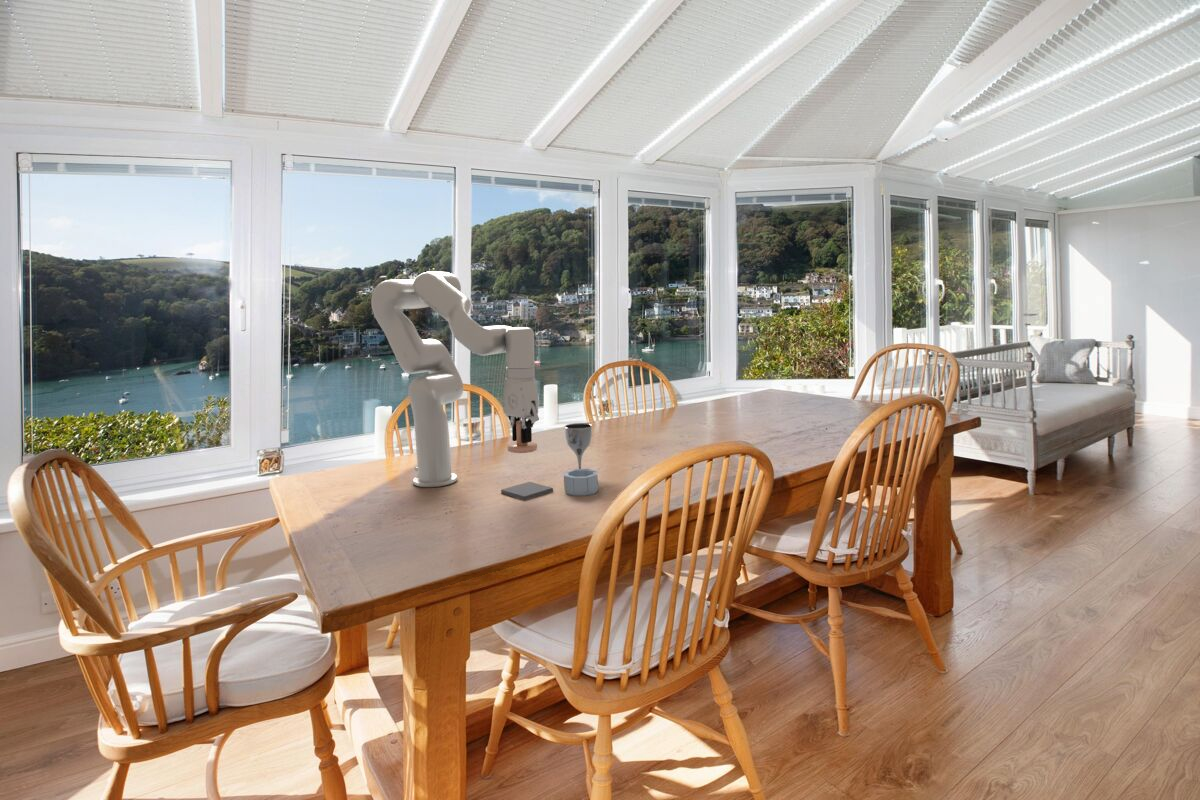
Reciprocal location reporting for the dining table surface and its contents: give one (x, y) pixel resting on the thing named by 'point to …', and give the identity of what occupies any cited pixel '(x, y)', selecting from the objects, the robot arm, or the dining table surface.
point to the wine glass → (578, 438)
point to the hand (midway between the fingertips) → (522, 440)
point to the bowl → (581, 482)
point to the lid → (518, 446)
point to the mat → (527, 490)
